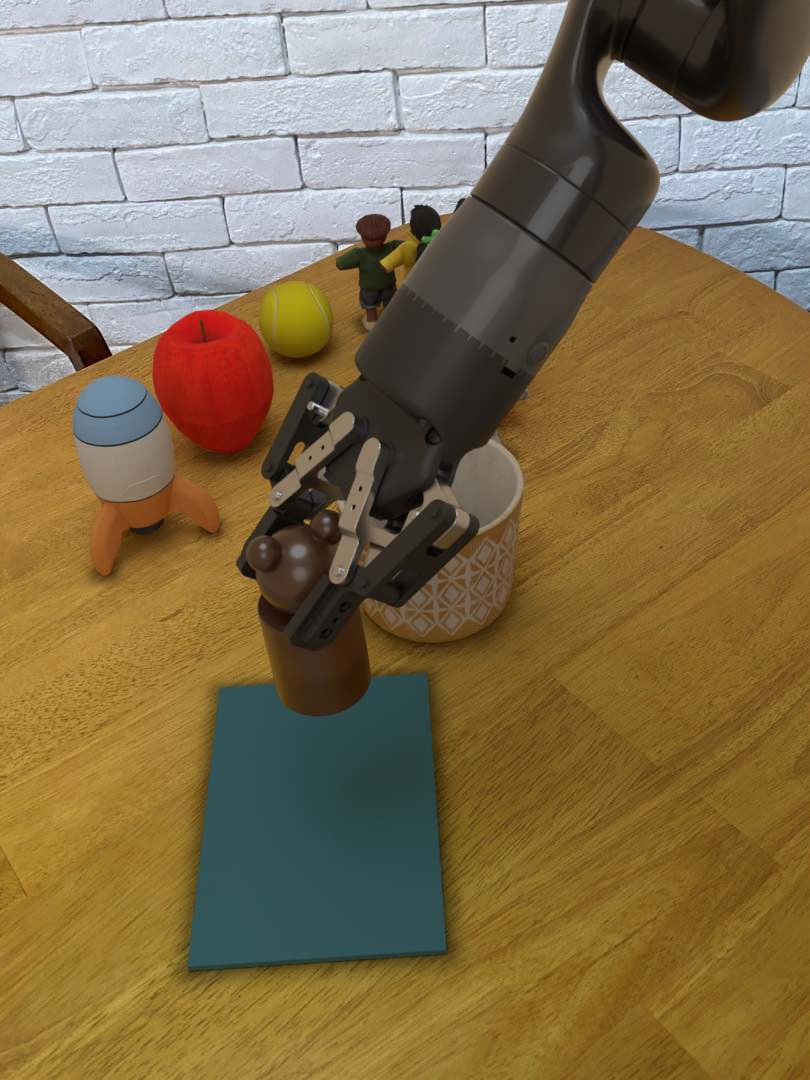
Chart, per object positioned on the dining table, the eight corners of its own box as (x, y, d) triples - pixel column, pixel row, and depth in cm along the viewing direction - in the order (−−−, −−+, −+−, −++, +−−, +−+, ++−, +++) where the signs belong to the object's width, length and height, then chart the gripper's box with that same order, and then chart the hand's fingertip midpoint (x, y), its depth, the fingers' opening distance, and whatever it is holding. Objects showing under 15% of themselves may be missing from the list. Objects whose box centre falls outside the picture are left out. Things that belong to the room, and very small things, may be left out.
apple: (164, 421, 101) (134, 299, 93) (273, 400, 103) (252, 278, 95) (175, 486, 94) (144, 360, 86) (292, 463, 95) (272, 336, 87)
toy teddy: (391, 693, 60) (369, 537, 53) (303, 735, 58) (269, 580, 51) (344, 633, 64) (318, 480, 57) (260, 671, 62) (223, 518, 55)
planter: (360, 671, 77) (345, 557, 70) (339, 551, 86) (324, 440, 79) (542, 642, 78) (544, 526, 71) (501, 526, 87) (500, 414, 80)
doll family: (537, 264, 119) (540, 139, 110) (586, 300, 113) (592, 171, 104) (338, 325, 112) (323, 197, 103) (377, 367, 106) (365, 235, 97)
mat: (447, 954, 61) (446, 949, 61) (188, 971, 61) (187, 966, 61) (427, 677, 76) (427, 672, 76) (220, 692, 76) (219, 687, 76)
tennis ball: (271, 377, 105) (261, 311, 101) (258, 341, 111) (247, 276, 106) (344, 362, 107) (337, 296, 102) (327, 327, 112) (319, 262, 107)
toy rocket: (101, 506, 94) (96, 338, 86) (228, 522, 94) (235, 356, 86) (64, 576, 85) (55, 397, 77) (205, 593, 85) (210, 416, 77)
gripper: (345, 230, 54) (162, 510, 58) (512, 361, 45) (280, 687, 49) (443, 295, 60) (270, 549, 64) (612, 425, 50) (395, 715, 54)
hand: (275, 607), depth 56 cm, fingers closed on toy teddy, 5 cm apart
